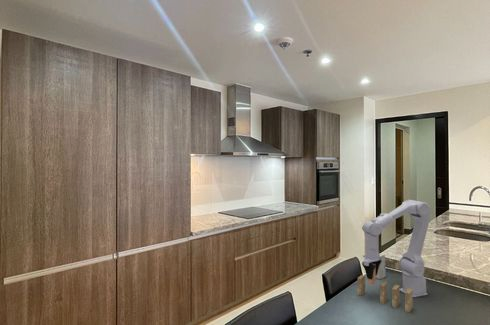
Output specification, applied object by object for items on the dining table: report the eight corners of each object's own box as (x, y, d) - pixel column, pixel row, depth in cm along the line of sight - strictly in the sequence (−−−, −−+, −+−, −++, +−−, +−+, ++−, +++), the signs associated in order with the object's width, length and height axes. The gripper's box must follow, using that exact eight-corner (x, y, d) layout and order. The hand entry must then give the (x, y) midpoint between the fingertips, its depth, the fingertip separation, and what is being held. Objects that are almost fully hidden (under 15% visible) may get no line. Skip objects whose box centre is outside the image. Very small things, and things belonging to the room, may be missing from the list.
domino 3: (387, 299, 123) (387, 282, 122) (383, 303, 119) (383, 285, 119) (383, 298, 124) (383, 281, 124) (380, 302, 120) (379, 284, 120)
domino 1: (365, 292, 130) (365, 275, 130) (361, 295, 126) (360, 279, 126) (361, 291, 131) (361, 274, 131) (357, 294, 127) (357, 277, 127)
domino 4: (399, 303, 119) (399, 285, 119) (396, 308, 115) (396, 289, 115) (395, 302, 120) (395, 284, 120) (392, 306, 117) (392, 288, 117)
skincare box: (379, 279, 143) (379, 257, 142) (371, 276, 146) (371, 254, 146) (386, 276, 146) (385, 254, 146) (378, 273, 150) (377, 252, 150)
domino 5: (412, 307, 115) (412, 289, 115) (409, 312, 112) (409, 293, 112) (408, 306, 117) (408, 288, 116) (405, 311, 113) (404, 292, 113)
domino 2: (375, 281, 126) (375, 264, 126) (371, 284, 123) (371, 267, 123) (372, 280, 127) (372, 263, 127) (368, 283, 124) (367, 266, 124)
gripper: (369, 242, 133) (369, 269, 133) (356, 249, 122) (357, 279, 123) (384, 245, 128) (384, 273, 128) (372, 253, 117) (373, 284, 118)
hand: (372, 276), depth 125 cm, fingers closed on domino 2, 5 cm apart
